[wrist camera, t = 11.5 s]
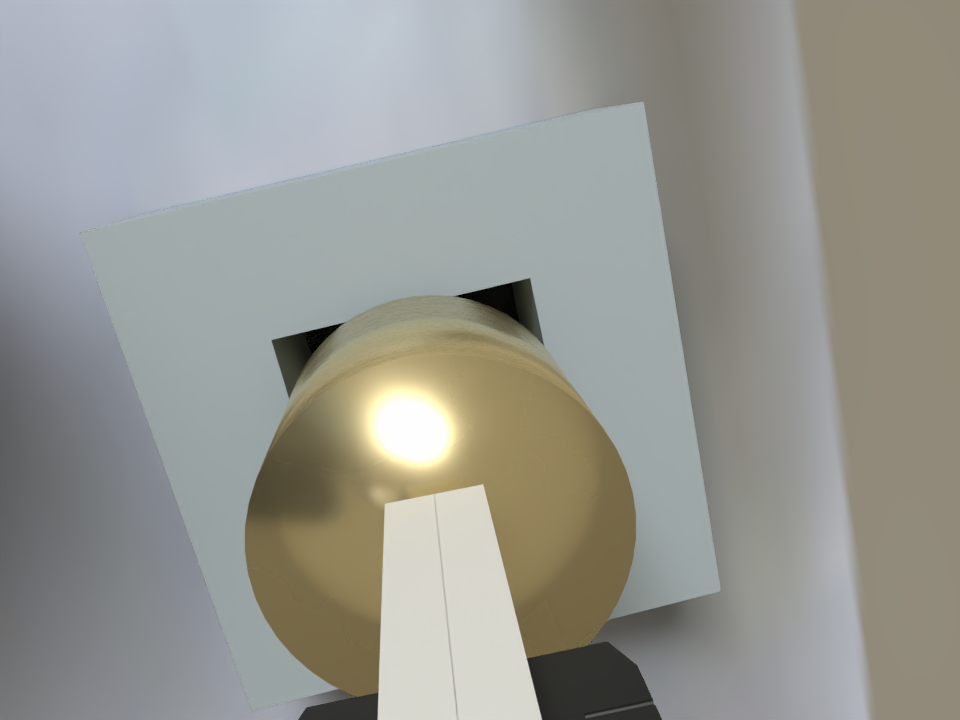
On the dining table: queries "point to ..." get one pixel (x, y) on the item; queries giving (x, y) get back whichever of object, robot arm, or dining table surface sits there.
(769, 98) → the dining table surface
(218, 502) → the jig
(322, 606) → the gold cylinder
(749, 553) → the dining table surface
